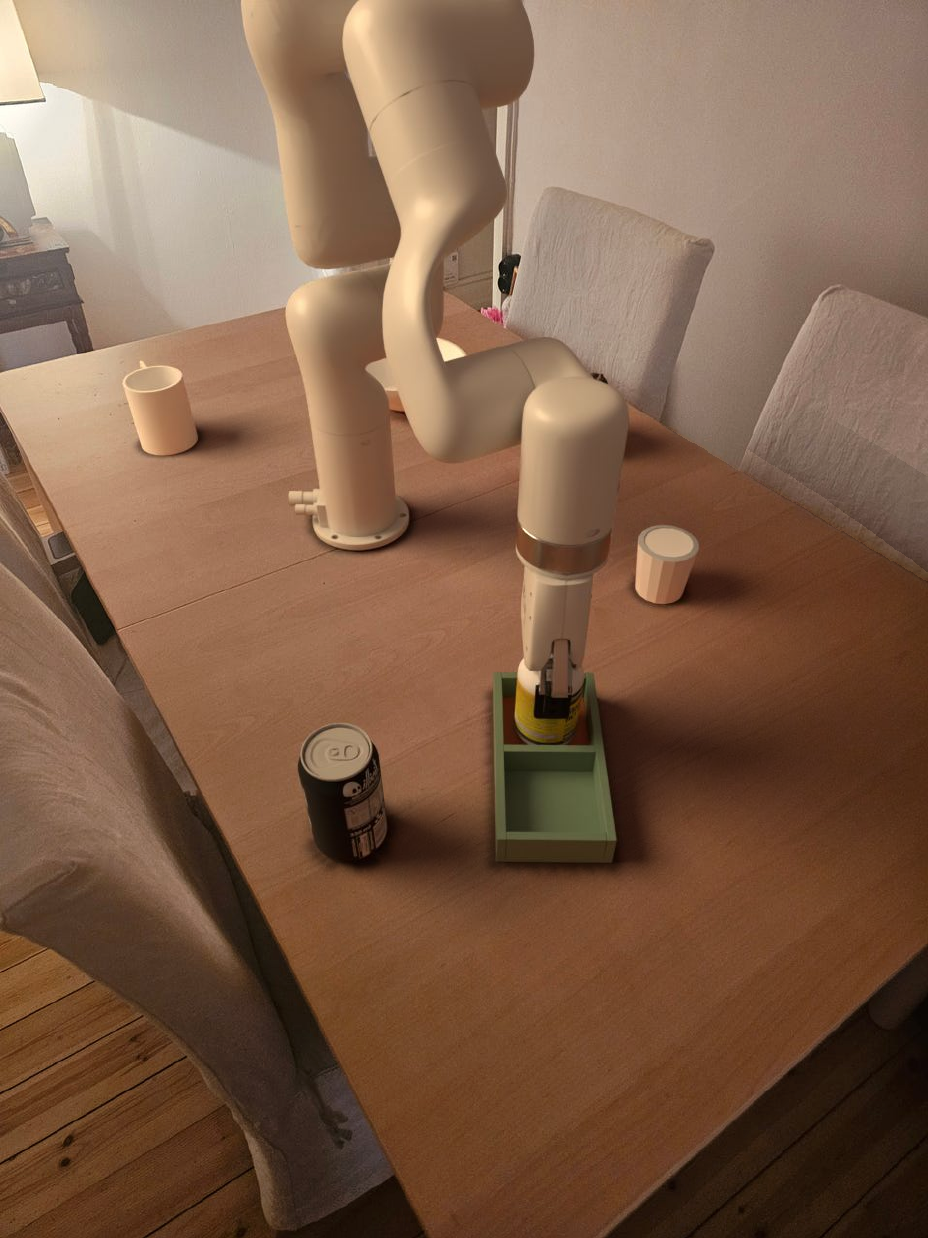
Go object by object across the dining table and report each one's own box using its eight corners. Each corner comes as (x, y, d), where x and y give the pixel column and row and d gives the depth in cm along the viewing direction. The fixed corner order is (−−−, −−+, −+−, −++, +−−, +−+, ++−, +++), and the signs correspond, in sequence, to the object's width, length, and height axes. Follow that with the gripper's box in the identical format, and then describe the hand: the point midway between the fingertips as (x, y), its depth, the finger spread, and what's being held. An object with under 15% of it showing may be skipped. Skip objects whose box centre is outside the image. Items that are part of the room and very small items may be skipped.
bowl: (490, 391, 134) (491, 351, 130) (423, 444, 122) (421, 402, 118) (394, 363, 142) (391, 324, 137) (321, 410, 130) (316, 369, 125)
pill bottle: (573, 757, 79) (584, 679, 71) (509, 747, 80) (514, 669, 72) (579, 709, 83) (590, 630, 76) (519, 700, 84) (524, 621, 77)
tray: (495, 862, 71) (496, 839, 69) (493, 695, 86) (493, 671, 83) (611, 863, 71) (617, 840, 69) (589, 696, 86) (593, 672, 83)
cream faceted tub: (691, 576, 100) (702, 530, 95) (683, 613, 95) (695, 566, 90) (635, 565, 101) (643, 519, 97) (624, 600, 97) (632, 553, 92)
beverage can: (316, 805, 76) (297, 721, 68) (387, 800, 76) (377, 715, 68) (312, 869, 71) (292, 787, 63) (388, 863, 71) (378, 780, 63)
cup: (182, 411, 130) (166, 351, 123) (204, 446, 122) (189, 383, 115) (129, 424, 127) (110, 363, 120) (149, 460, 119) (129, 397, 112)
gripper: (513, 475, 72) (506, 625, 84) (520, 608, 59) (511, 762, 71) (599, 475, 72) (579, 625, 84) (625, 609, 59) (598, 762, 71)
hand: (548, 687), depth 77 cm, fingers closed on pill bottle, 6 cm apart
